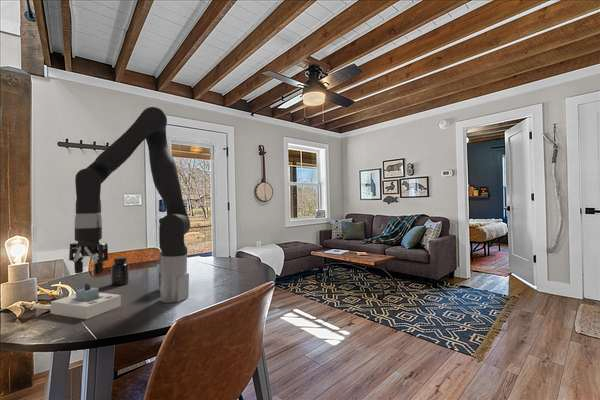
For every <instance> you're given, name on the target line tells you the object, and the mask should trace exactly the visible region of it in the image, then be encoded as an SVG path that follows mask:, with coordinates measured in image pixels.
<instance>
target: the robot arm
mask: <svg viewBox="0 0 600 400" xmlns="http://www.w3.org/2000/svg"><path fill="white" fill-rule="evenodd" d="M167 117H168V116H167V114H166V113H165V111H163V109H161V108H159V107H156V106H150V107H149V106H148V107H147V108H145V109H143V111H142V112H141V113H140V115H139V116H138V117H137V119H136V120H135V121H134V122H133V123H132V124H131V126H130V127H129V128H127V130H126V131H124V133H123V134H121V135H120V136H119V137H118V138H117V139H116V140H115V141H114V142H113V143H112V144H111V145H109V146H108V147H107V148H106V149H104V150H103V151H102V152H101V153H100V154H99V155H98V156H97V157H96V158H95V160H94V161H93V162H92V163H91V164H89V165H88V166H87V167H86V168H83V169H80V170H78V172H77V173H76V174H75V178H74V179H75V181H74V183H75V193H76V200H75V215H74V216H75V217H74V241H75V242H73V243H70V244H69V255H68V261H70V262H71V261H72V262H73V263H74V273H75V274H81V273H83V271H84V261H83V260H84V259H85V257H89V258H90V259H92V261H93V263H94V269H93V270H94V271H93V272H94V275H100V274H102V273H103V270H104V269H103V266H104V265H103V263H104V262H106V261H108V260H109V252H108V251H109V250H108V243H106V242H103V243H101V242H100V240H102V239H103V219H102V201H101V189H102V183H104V181H106V180H107V178H109V176H110V175H111V174H112V173H114V172H115V171H116V170H117V169H119V168H120V167H121V166H122V165H123V164H124V163H125V162H126V161H127V160H128V159H129V158H130V157H131V156H132V155H133V153H134V152H135V151H136V150H137V149H138V147H140V145H141V144H142V143H143V142H144V141H146V145H147V148H148V155H149V157H148V159H149V166H150V173H151V177H152V180H153V184H154V187H155V188H156V190H157V192H158V194H159V196H160V197H161V199H162V201H163V203H164V207H165V210H166V215H165V216H163V217H162V219H161V220H160V223H159V227H158V229H159V231H158V235H159V236H158V237H159V239H158V240H159V241H158V242H159V249H160V253H161V291H159V292H160V299H159V301H160V302H161V303H167V304H170V303H180V302H182V301H184V300H186V299H188V298H189V294H190V293H189V291H190V290H189V289H190V288H189V287H190V274H189V273H188V247H187V246H186V244H185V235H186V234H187V233H189V230H190V227H191V220H190V218H189V215H188V211H187V209H186V206H185V203H184V199H183V193H182V188H181V184H180V183H181V182H180V177H179V174H178V169H177V164H176V162H175V159H174V157H173V155H172V153H171V151H170V148H169V145H168V137H167V125H168V119H167Z"/></svg>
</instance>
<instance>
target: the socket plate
mask: <svg viewBox="0 0 600 400" xmlns="http://www.w3.org/2000/svg"><path fill="white" fill-rule="evenodd" d="M121 301H122V294H117V293H115V294H113V293H106V292H99V299H97V300H93V301H90V302H81V301H76V293H75V294H72V295H68V296H65V297H62V298H59V299H55V300H52V301H50V314H52V315H57V316H64V317H68V318H76V319H82V320H89V319H91V318H94V317H97V316H99V315H102V314H104V313H106V312H110V311H112V310H114V309H117V308H120V307H121V305H122V302H121Z"/></svg>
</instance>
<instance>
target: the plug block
mask: <svg viewBox="0 0 600 400" xmlns="http://www.w3.org/2000/svg"><path fill="white" fill-rule="evenodd" d="M91 286H92V284H91V283H89V282H88V283H84V288H82V289H79V290H75V294H76V301H81V302H90V301H93V300H97V299H99V293H100V292H99V291H100V290H99V289H100V288H97V287H91Z"/></svg>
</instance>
